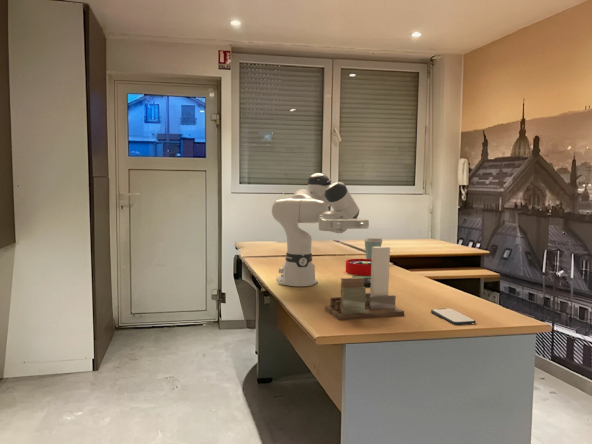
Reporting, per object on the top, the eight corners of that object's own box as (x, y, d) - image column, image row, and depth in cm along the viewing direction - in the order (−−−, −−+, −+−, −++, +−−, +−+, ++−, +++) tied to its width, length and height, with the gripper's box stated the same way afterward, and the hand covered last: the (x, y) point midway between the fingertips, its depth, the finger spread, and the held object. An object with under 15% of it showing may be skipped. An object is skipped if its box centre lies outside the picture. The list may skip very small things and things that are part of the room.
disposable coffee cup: (359, 262, 280) (360, 237, 279) (371, 260, 287) (372, 236, 286) (373, 264, 272) (374, 238, 271) (385, 262, 279) (386, 237, 278)
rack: (324, 309, 173) (325, 293, 172) (385, 305, 180) (386, 290, 180) (339, 319, 160) (339, 302, 159) (404, 315, 167) (404, 298, 167)
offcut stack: (340, 312, 164) (341, 278, 163) (361, 310, 167) (362, 277, 166) (343, 314, 161) (344, 279, 160) (364, 313, 164) (365, 279, 163)
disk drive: (373, 289, 212) (373, 281, 226) (373, 282, 211) (373, 276, 226) (350, 287, 213) (352, 280, 228) (350, 281, 213) (352, 275, 228)
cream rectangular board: (369, 306, 173) (372, 246, 172) (384, 305, 175) (386, 246, 173) (372, 307, 171) (375, 247, 169) (387, 306, 173) (390, 247, 171)
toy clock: (355, 265, 235) (340, 259, 255) (354, 277, 236) (339, 269, 255) (391, 264, 241) (373, 258, 260) (390, 275, 242) (373, 268, 261)
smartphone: (477, 325, 159) (450, 312, 174) (477, 321, 159) (451, 307, 174) (454, 327, 157) (429, 313, 172) (454, 322, 157) (429, 308, 172)
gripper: (360, 229, 200) (375, 233, 187) (315, 230, 194) (327, 233, 181) (361, 215, 200) (376, 217, 186) (315, 214, 193) (327, 217, 180)
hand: (351, 225), depth 184 cm, fingers open, 8 cm apart
